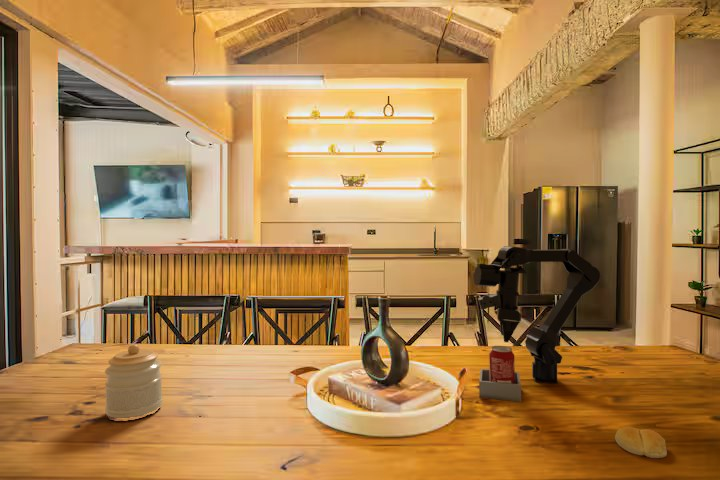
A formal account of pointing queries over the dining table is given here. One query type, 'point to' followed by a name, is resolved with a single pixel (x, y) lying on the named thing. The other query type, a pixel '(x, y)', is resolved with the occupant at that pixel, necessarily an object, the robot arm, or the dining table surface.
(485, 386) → the grey crate
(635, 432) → the bread roll
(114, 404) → the jar
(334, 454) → the dining table surface
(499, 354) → the soda can
